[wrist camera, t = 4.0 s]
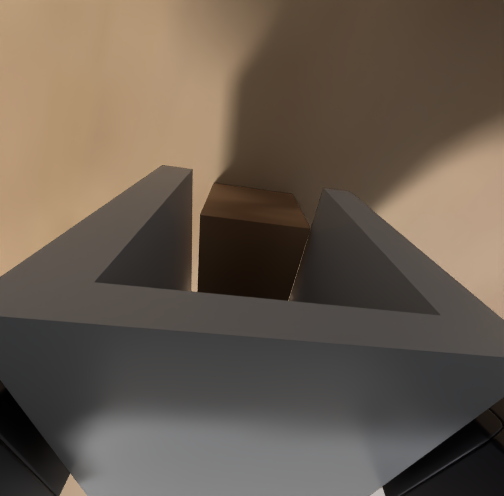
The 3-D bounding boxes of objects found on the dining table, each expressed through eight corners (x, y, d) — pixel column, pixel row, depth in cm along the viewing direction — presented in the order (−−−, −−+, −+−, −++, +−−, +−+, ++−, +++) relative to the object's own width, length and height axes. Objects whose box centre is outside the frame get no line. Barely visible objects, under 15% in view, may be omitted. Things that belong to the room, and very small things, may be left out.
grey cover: (350, 191, 8) (552, 361, 3) (303, 318, 12) (352, 508, 6) (162, 164, 8) (-50, 311, 2) (170, 306, 11) (93, 503, 6)
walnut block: (292, 193, 12) (310, 228, 8) (276, 257, 14) (286, 306, 11) (213, 182, 12) (200, 214, 8) (209, 250, 14) (197, 298, 10)
